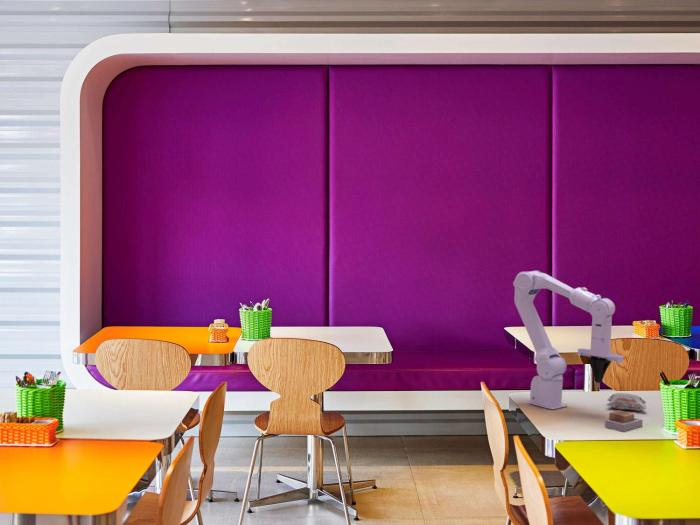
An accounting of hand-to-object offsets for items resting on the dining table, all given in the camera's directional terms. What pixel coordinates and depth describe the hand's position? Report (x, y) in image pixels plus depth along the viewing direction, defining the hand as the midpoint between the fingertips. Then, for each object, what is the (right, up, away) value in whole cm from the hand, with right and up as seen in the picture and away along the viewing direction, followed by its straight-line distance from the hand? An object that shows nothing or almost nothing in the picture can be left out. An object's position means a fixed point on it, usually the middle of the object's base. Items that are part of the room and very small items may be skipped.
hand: (598, 381), depth 235 cm
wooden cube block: (+3, -12, -11) cm, 16 cm away
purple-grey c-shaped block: (+4, -11, -11) cm, 16 cm away
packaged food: (+12, -11, +9) cm, 19 cm away
